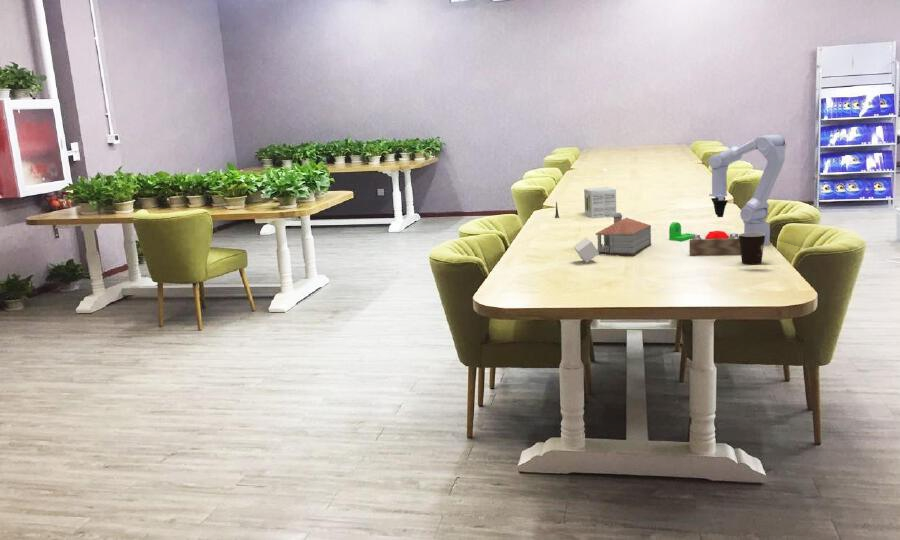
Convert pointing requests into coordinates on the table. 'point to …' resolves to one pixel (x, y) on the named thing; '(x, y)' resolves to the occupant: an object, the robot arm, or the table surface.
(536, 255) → the table surface
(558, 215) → the eiffel tower figurine
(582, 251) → the light grey cube
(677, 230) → the mechanical part
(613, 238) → the model house
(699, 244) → the backstop
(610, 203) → the supplement box
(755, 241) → the coffee mug
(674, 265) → the table surface
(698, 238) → the grey round piece
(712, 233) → the red black angular block
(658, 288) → the table surface
